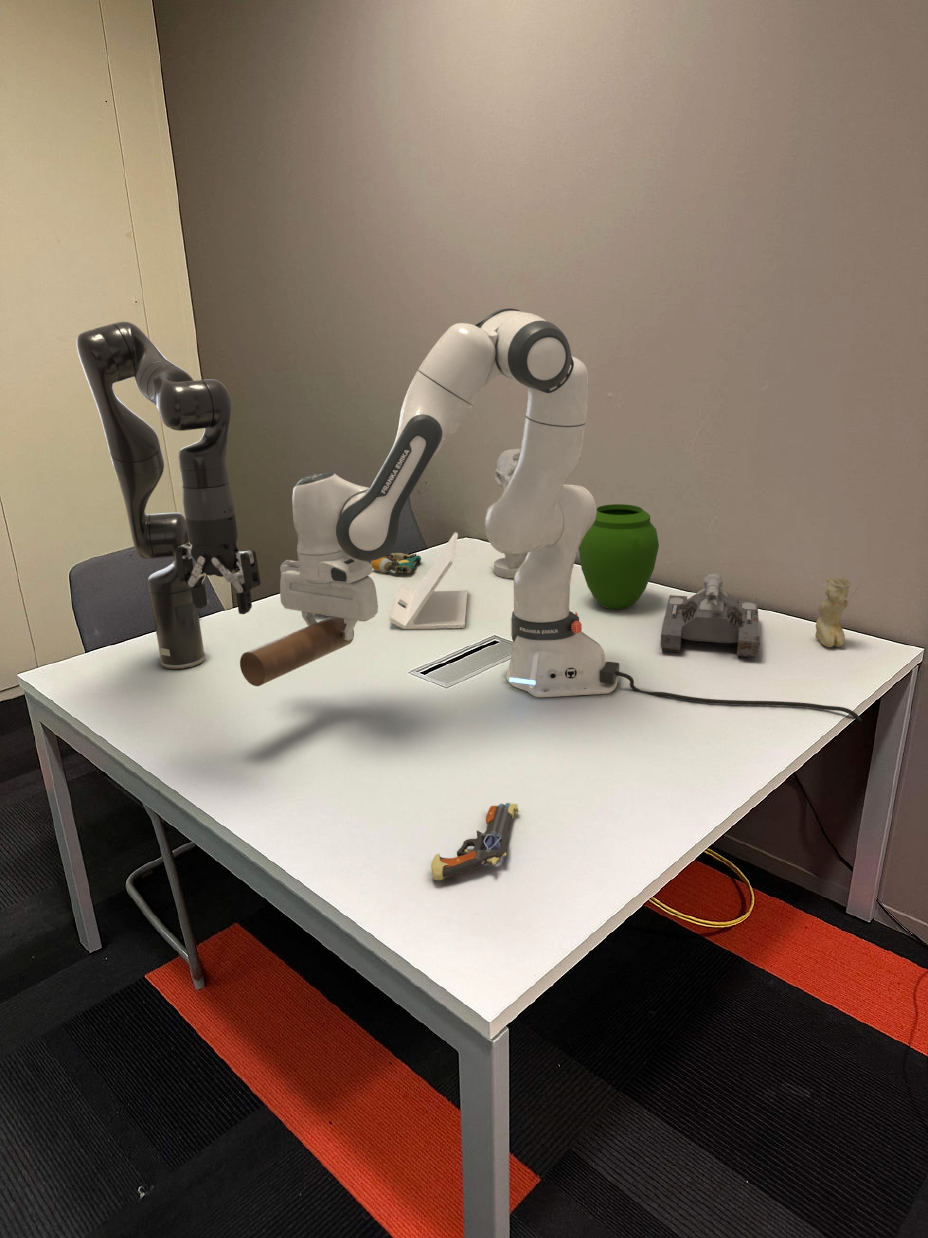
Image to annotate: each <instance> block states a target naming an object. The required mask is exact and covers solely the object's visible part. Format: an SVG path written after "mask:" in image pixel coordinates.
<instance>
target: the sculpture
mask: <svg viewBox="0 0 928 1238" xmlns="http://www.w3.org/2000/svg"><path fill="white" fill-rule="evenodd" d="M826 581H827V586H826V588H825V590H824V593H825V595H826V596H827V598H826V600H824V601H822V602H821V603H820V604H819V605H818V606H817V609H816V610H817V612H818V614H819V616H818V617H817V619H816V623H815V630H816V631H815V634H814V635H815V639H817V640H819V642H820V643H821V644H822V645H823V646H825V647H827V648H832V647H834V646H835V647H843V646H844V645H845V643H846V642H845V641H846V636H845V632H844V630H843V626H842V624H841V622H840V621H841V617H842V615H843V612H844V610H845V609H846V608H847V606H848V604H849V603H848V602H849V601H847V598H848V597H849V592H850V586H851V585H852V582H850V580H848V579H847V578H845V577H841V576H840V577H835V578H831V577H827V578H826Z"/></svg>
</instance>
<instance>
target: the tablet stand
mask: <svg viewBox="0 0 928 1238" xmlns="http://www.w3.org/2000/svg"><path fill="white" fill-rule="evenodd" d="M458 537H459V533H458V532H456V531H455V532H453V534H452V535H451V537H450V539H449V540H448V542H447V543H446V544H445V546H444V548H443V549H442V551H441V552H440V554H439V555H438V556H437V558H436V559H435V561H434V562H433V564H432V565H431V567H430V568H429V569H428V571H427V573H426V574H425V575H424V577H423V579H422V580H421V581H420V583H419V584H418V585H417V587H416V589H415V590H412V589H410V588H409V587H407V586H406V585H403V584H400V585H399V586H398V589H397V591H396V595H395V598H394V601H393V604H392V607H391V610H390V612H389V613H390V614H389V617H388V621H389V622H391V623H392V624H394V625H396V626H398V627H399V628H401V629H402V630H426V629H427V630H429V629H430V630H431V629H435V630H436V629H437V630H438V629H464V628H465V627H466V618H467V617H466V616H467V605H468V591H467V590H436V589H437V587H438V585H440V582H441V581H442V580H443V578H444V577H445V575H446V574H447V573H448V571H449V570H450V569H451V567H452V566H453V564H454V562H455V558H456V553H457V545H458ZM399 603H400V604H399ZM402 605H403V606H405V607H403V606H402Z"/></svg>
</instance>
